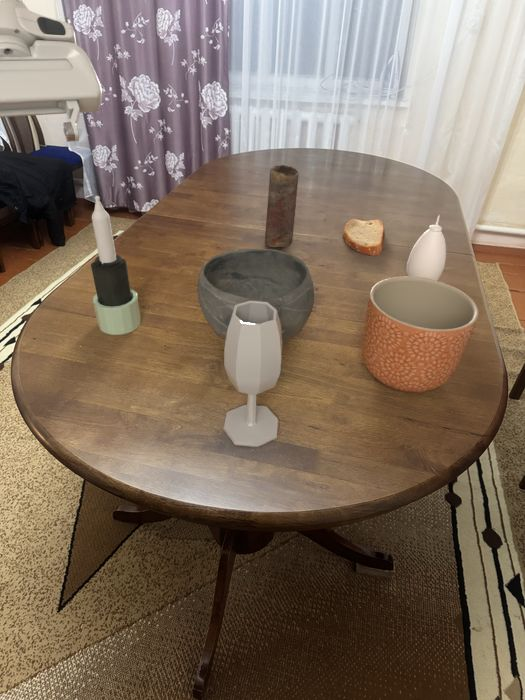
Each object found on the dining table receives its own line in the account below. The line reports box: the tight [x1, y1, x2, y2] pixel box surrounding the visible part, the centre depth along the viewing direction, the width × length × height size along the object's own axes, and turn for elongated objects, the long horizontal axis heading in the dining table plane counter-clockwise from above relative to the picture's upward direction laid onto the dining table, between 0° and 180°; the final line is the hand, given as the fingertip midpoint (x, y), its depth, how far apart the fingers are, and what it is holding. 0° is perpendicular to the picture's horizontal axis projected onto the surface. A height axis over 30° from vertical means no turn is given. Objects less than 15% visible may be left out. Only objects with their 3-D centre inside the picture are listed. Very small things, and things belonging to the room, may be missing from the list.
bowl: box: [197, 248, 315, 344], centre depth 87 cm, size 21×21×15 cm
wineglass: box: [222, 301, 284, 448], centre depth 66 cm, size 9×9×21 cm
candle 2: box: [264, 164, 300, 249], centre depth 120 cm, size 8×7×20 cm
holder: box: [92, 288, 142, 336], centre depth 92 cm, size 8×8×6 cm
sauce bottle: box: [405, 214, 447, 281], centre depth 104 cm, size 8×8×18 cm
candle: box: [90, 195, 132, 307], centre depth 85 cm, size 5×5×25 cm
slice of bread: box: [342, 218, 386, 257], centre depth 131 cm, size 18×18×4 cm
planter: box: [361, 275, 480, 393], centre depth 79 cm, size 17×17×15 cm
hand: (34, 141), depth 59 cm, fingers open, 8 cm apart
